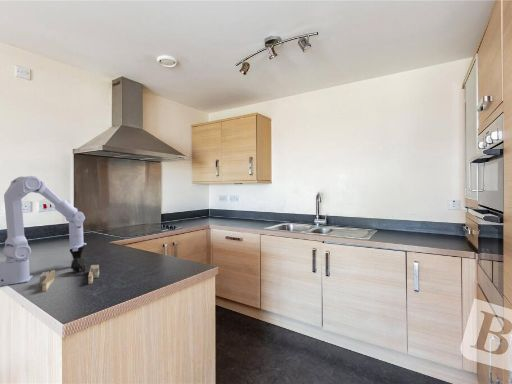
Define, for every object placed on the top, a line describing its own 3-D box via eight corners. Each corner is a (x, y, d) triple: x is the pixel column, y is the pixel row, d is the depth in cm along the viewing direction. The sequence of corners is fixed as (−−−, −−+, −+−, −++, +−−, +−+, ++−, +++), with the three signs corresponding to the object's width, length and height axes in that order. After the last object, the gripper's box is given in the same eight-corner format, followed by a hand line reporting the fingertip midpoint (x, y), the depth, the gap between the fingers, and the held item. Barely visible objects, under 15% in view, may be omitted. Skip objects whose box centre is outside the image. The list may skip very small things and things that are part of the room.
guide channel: (35, 292, 100) (35, 282, 99) (46, 278, 115) (45, 269, 115) (97, 282, 109) (97, 272, 109) (99, 270, 125) (99, 261, 125)
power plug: (78, 275, 116) (70, 255, 122) (76, 287, 118) (68, 267, 125) (93, 272, 120) (85, 253, 126) (90, 283, 123) (82, 264, 129)
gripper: (84, 236, 128) (85, 265, 129) (87, 232, 141) (88, 258, 141) (66, 238, 125) (67, 267, 125) (70, 233, 138) (71, 260, 138)
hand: (77, 262), depth 133 cm, fingers closed
